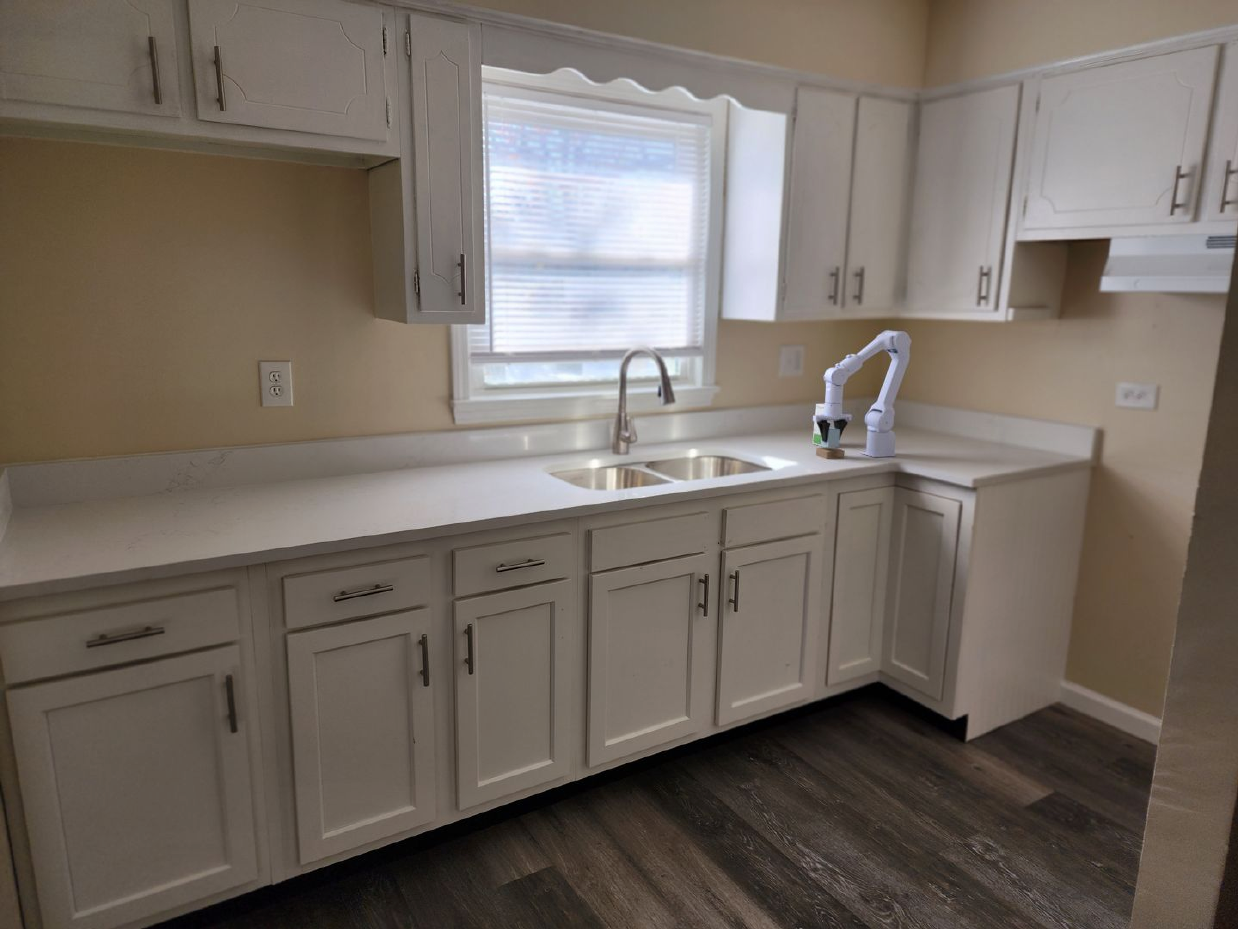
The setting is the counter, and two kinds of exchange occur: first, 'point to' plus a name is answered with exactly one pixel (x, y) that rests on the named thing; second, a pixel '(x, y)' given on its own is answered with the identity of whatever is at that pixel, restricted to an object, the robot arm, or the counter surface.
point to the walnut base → (830, 453)
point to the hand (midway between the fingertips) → (830, 441)
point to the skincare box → (816, 433)
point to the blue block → (832, 438)
